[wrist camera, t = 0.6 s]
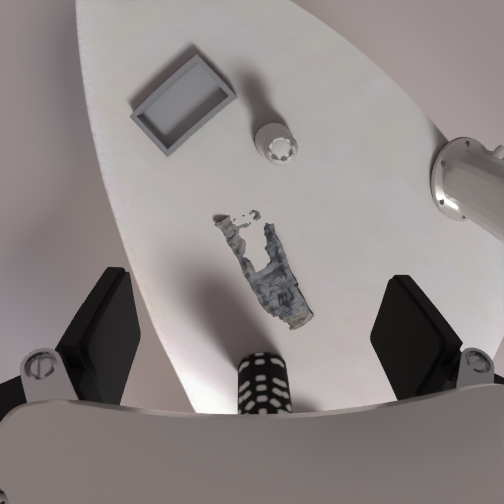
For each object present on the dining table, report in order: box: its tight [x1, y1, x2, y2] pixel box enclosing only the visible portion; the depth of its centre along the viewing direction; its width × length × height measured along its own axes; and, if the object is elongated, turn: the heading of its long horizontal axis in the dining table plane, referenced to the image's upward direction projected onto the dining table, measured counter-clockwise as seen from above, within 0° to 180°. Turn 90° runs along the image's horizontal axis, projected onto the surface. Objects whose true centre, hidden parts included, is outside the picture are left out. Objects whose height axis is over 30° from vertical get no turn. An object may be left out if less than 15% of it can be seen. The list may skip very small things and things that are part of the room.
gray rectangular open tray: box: [130, 54, 237, 157], centre depth 31 cm, size 10×7×2 cm, turn 129°
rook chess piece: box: [255, 123, 298, 165], centre depth 30 cm, size 4×4×8 cm
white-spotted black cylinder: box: [238, 353, 293, 415], centre depth 41 cm, size 8×8×20 cm
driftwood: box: [215, 210, 314, 330], centre depth 42 cm, size 21×7×2 cm, turn 24°
